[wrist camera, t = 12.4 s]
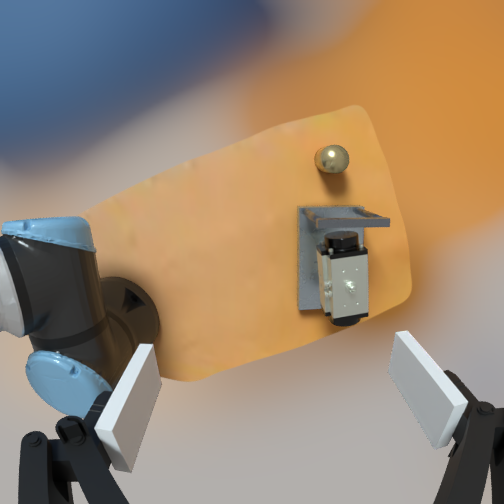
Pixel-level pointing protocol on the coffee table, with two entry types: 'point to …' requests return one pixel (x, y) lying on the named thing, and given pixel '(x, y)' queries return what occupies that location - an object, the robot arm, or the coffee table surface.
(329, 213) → the dolly
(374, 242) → the coffee table surface
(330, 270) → the pneumatic valve
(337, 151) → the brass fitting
